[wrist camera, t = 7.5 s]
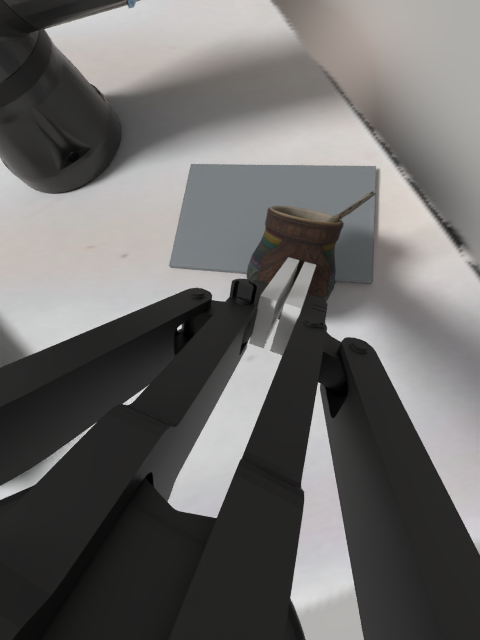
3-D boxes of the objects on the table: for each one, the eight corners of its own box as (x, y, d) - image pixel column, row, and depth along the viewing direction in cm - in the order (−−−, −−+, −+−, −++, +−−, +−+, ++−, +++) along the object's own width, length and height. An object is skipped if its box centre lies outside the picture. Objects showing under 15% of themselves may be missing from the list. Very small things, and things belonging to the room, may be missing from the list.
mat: (192, 167, 29) (190, 164, 29) (374, 170, 26) (375, 166, 26) (171, 267, 27) (169, 265, 26) (370, 283, 24) (372, 281, 23)
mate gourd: (250, 284, 26) (268, 173, 20) (323, 300, 24) (363, 188, 19) (232, 317, 19) (251, 172, 14) (328, 341, 18) (387, 194, 13)
